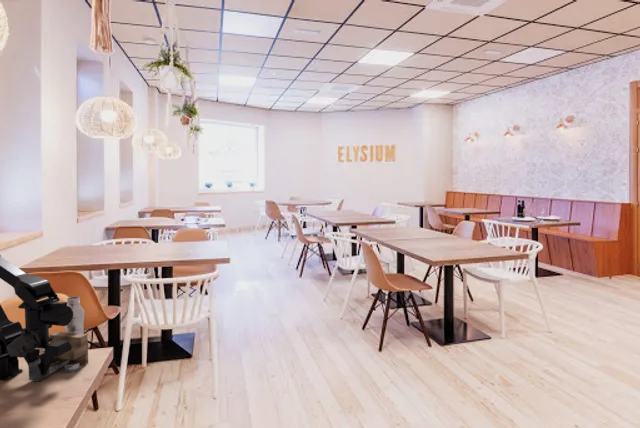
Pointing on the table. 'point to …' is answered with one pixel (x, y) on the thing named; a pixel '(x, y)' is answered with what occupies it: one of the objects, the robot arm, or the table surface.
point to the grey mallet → (36, 371)
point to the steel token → (72, 367)
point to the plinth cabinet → (77, 344)
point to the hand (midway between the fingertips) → (39, 374)
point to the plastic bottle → (75, 316)
